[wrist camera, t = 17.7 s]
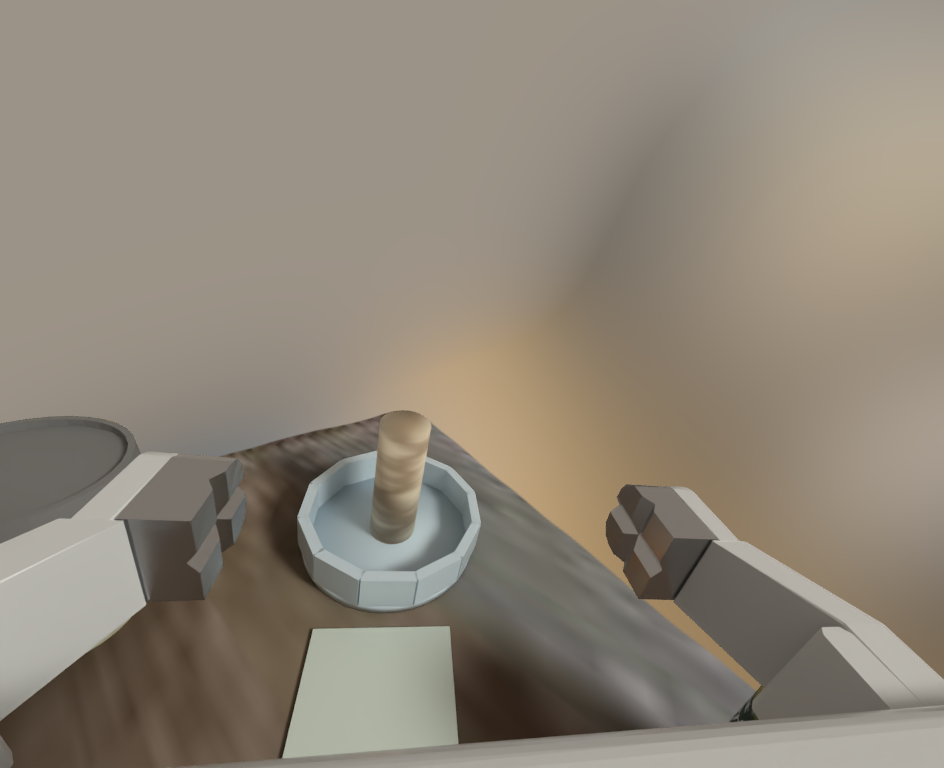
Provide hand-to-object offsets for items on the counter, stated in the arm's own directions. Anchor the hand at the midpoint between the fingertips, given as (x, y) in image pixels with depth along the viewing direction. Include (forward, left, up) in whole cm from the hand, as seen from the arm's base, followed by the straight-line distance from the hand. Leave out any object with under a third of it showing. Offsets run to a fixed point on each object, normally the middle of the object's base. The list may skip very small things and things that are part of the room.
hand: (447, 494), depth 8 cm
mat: (0, +9, -30) cm, 31 cm away
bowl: (0, +26, -30) cm, 39 cm away
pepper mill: (0, +26, -29) cm, 39 cm away
